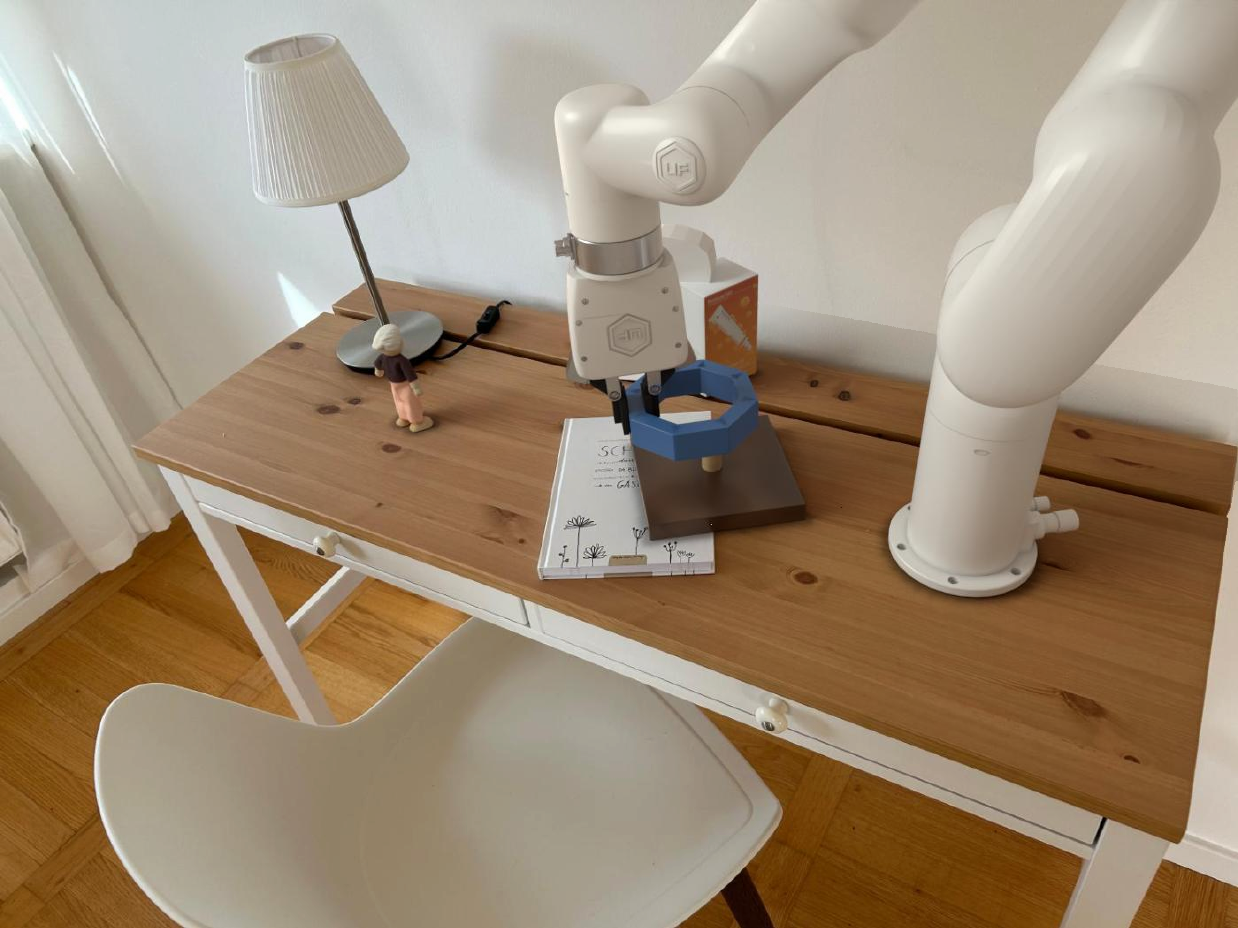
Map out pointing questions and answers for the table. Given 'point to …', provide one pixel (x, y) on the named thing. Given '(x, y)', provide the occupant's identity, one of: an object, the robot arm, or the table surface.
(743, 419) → the ring
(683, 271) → the heart sculpture
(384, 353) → the grandmother figurine
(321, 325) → the table surface
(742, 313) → the small box
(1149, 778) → the table surface
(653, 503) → the platform
